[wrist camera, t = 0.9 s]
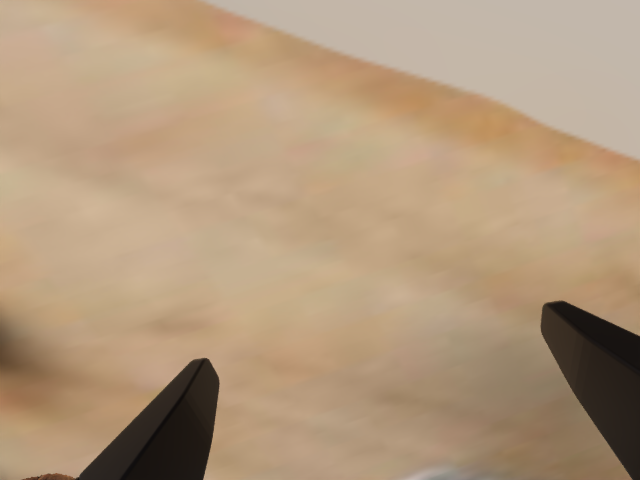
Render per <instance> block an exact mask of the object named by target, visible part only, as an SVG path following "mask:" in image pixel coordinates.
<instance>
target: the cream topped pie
mask: <svg viewBox="0 0 640 480" xmlns="http://www.w3.org/2000/svg"><path fill="white" fill-rule="evenodd" d="M23 480H75V478H73V477H70V476H67V475H62V474H57V473H56V474H53V475H51V474H47V475H43V476H42V475H41V476H40V477H31V478H26V479H23Z"/></svg>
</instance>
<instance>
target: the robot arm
mask: <svg viewBox="0 0 640 480" xmlns="http://www.w3.org/2000/svg"><path fill="white" fill-rule="evenodd" d="M541 332H542V335H543V337H544V339H545V341H546V343H547V345H548V347H549V349H550V350H551V352H552V354H553V356H554V358H555V360H556V361H557V363H558V365H559V367H560V369H561V371H562V373H563V374H564V376H565V378H566V380H567V382H568V384H569V385H570V387H571V389H572V391H573V392H574V394H575V396H576V397H577V399H578V400H579V402H580V403H581V405H582V406H583V408H584V409H585V411H586V412H587V414H588V415H589V416H590V418H591V419H592V421H593V422H594V424H595V425H596V427H597V428H598V430H599V431H600V433H601V434H602V435H603V437H604V438H605V440H606V441H607V443H608V444H609V446H610V447H611V449H612V450H613V452H614V453H615V455H616V456H617V457H618V459H619V460H620V462H621V463H622V465H623V466H624V468H625V469H626V471H627V472H628V474H629V475H630V477H631V478H632V479H633V480H640V336H638V335H636V334H634V333H632V332H630V331H627V330H625V329H623V328H621V327H619V326H617V325H614V324H612V323H610V322H608V321H606V320H604V319H602V318H599V317H597V316H595V315H593V314H591V313H589V312H586V311H584V310H582V309H580V308H578V307H576V306H573V305H571V304H569V303H567V302H565V301H554V302H548V303H545V304H544V305H543V308H542V318H541ZM218 392H219V377H218V375H217V373H216V371H215V370H214V368H213V366H212V364H211V362H210V360H209V359H207V358H201V359H195V360H192V361H191V362H190V363H189V364H188V365H187V366H186V367H185V368H184V369H183V370H182V371H181V372H180V373H179V374H178V375H177V376H176V377H175V378H174V379H173V380H172V381H171V382H170V383H169V384H168V385H167V386H166V387H165V388H164V389H163V390H162V392H161V393H160V394H159V395H158V396H157V397H156V398H155V399H154V400H153V401H152V402H151V403H150V404H149V405H148V406H147V407H146V408H145V409H144V410H143V411H142V412H141V413H140V414H139V415H138V416H137V417H136V418H135V419H134V420H133V421H132V422H131V423H130V424H129V425H128V426H127V427H126V428H125V429H124V430H123V431H122V432H121V433H120V434H119V435H118V436H117V437H116V438H115V439H114V440H113V441H112V442H111V443H110V444H109V445H108V446H107V447H106V448H105V449H104V450H103V452H102V453H101V454H100V455H99V456H98V457H97V458H96V459H95V460H94V461H93V462H92V463H91V464H90V465H89V466H88V467H87V468H86V469H85V470H84V471H83V472H82V473H81V474H80V476H79V477H77V478H76V479H75V480H203V478H204V474H205V470H206V465H207V461H208V457H209V452H210V448H211V443H212V438H213V431H214V424H215V416H216V408H217V400H218Z"/></svg>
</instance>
